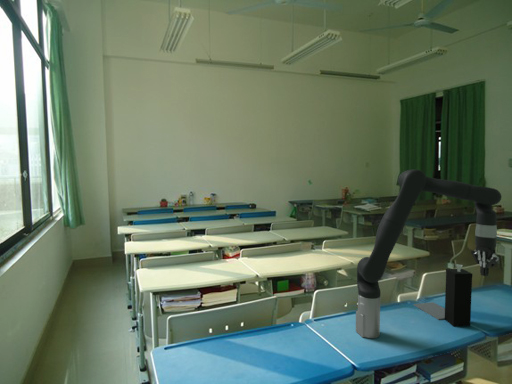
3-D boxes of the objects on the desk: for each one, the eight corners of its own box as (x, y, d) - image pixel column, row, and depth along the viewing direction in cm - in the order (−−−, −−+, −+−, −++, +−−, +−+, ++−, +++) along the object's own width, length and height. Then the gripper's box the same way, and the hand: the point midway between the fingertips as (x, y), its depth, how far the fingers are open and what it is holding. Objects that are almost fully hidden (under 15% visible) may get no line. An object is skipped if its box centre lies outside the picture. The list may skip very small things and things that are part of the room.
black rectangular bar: (470, 326, 157) (472, 266, 155) (453, 326, 157) (455, 266, 156) (460, 319, 165) (462, 261, 163) (444, 319, 165) (446, 261, 163)
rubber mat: (438, 319, 164) (438, 318, 164) (413, 305, 183) (413, 304, 182) (460, 317, 167) (460, 316, 167) (433, 303, 185) (433, 302, 185)
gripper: (465, 232, 151) (464, 271, 152) (492, 238, 138) (490, 281, 139) (480, 232, 152) (478, 270, 153) (507, 237, 139) (505, 279, 140)
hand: (484, 275), depth 146 cm, fingers closed
